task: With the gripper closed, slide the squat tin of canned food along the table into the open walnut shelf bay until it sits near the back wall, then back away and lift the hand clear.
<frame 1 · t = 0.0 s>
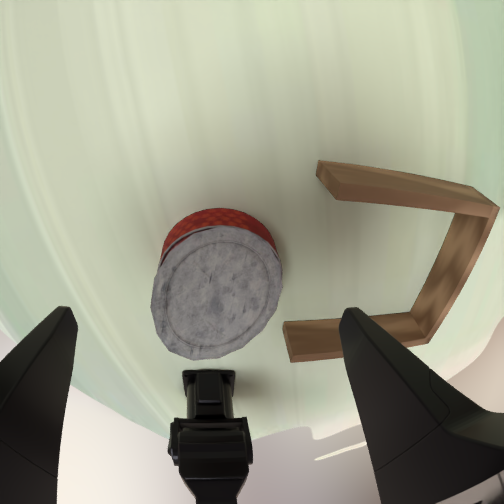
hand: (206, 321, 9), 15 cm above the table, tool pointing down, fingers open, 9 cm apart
canned food: (218, 256, 26), on the table
shelf bay: (371, 260, 28), on the table
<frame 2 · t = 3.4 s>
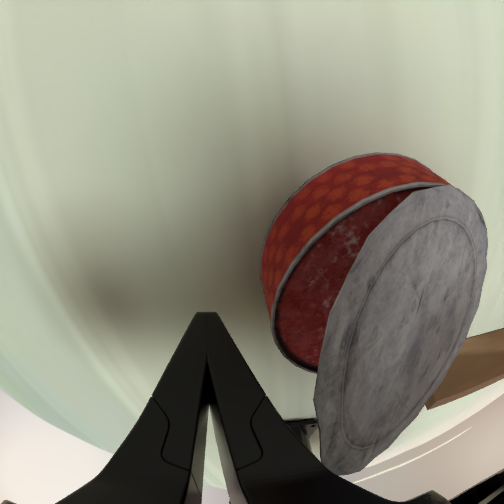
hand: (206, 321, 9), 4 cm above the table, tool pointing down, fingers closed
canned food: (365, 254, 13), on the table, touching gripper
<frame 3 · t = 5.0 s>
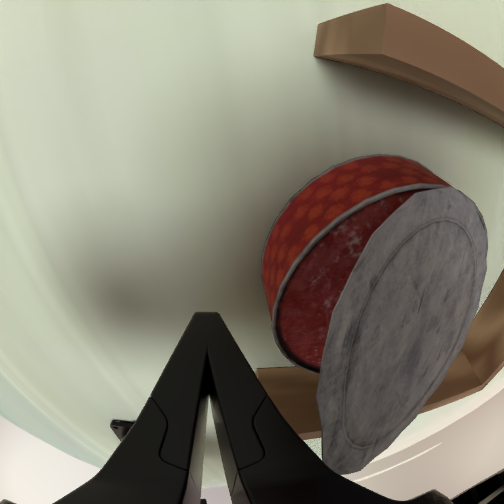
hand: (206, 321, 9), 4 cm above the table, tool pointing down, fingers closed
canned food: (366, 255, 13), on the table, touching gripper
shelf bay: (420, 261, 14), on the table
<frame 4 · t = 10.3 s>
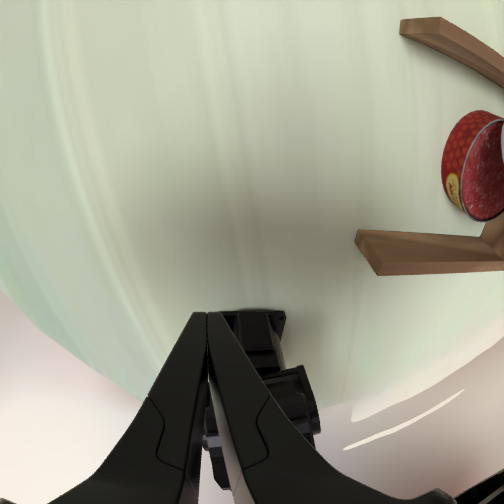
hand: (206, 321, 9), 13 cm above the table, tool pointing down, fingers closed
canned food: (475, 159, 21), on the table
shelf bay: (452, 153, 20), on the table
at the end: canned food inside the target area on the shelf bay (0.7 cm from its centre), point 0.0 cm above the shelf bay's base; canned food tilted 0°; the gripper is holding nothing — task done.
